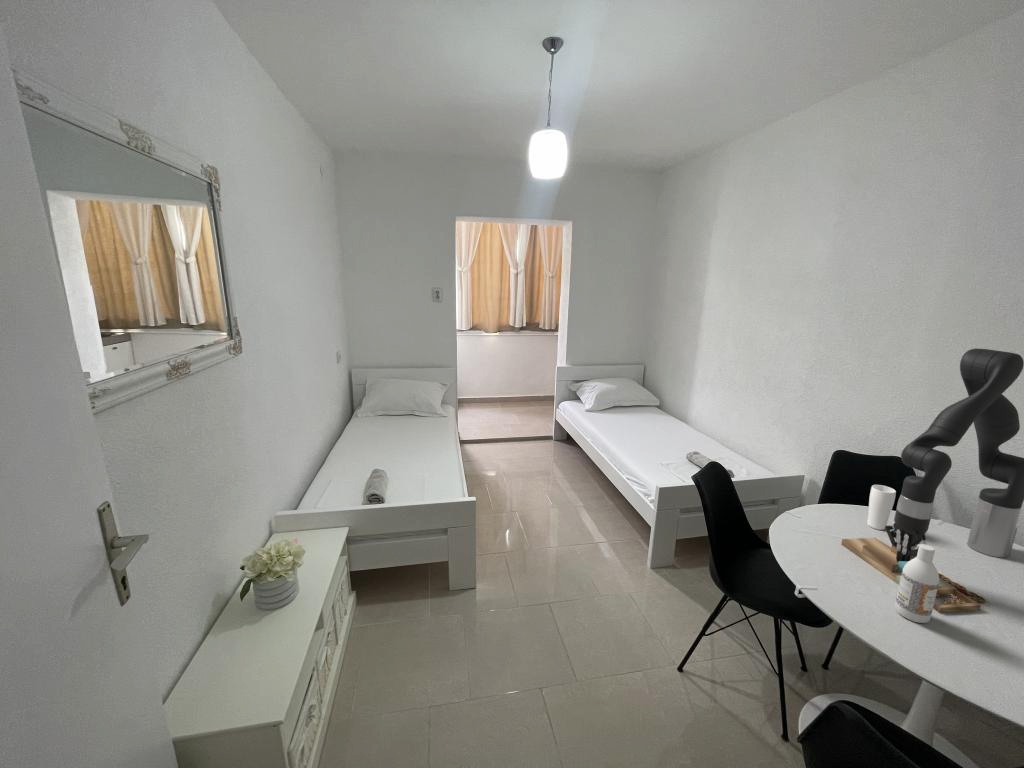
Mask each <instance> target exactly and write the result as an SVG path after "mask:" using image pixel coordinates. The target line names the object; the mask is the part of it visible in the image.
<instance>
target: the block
mask: <svg viewBox="0 0 1024 768" xmlns="http://www.w3.org/2000/svg"><path fill="white" fill-rule="evenodd" d="M907 562H909V561H898V564H899V567H898V572H900V573H901V574H902V570H903V568H904V566H905V564H906V563H907Z"/></svg>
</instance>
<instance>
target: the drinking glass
mask: <svg viewBox="0 0 1024 768" xmlns="http://www.w3.org/2000/svg"><path fill="white" fill-rule="evenodd" d="M896 493H897V491H896V490H895V489H894V488H892V487H889V486H887V485H882V484H873V485H871V487H870V493H869V498H868V499H869V500H868V512H867V521H866V524H867V525H868V527H870V528H872V529H874V530H879V531H883V530H886V529H885V526H888V521H889V519H890V517H891V516H890V515H891V512H892V510H893V507H894V504H895V500H896V495H897V494H896Z"/></svg>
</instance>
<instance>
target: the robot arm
mask: <svg viewBox="0 0 1024 768" xmlns="http://www.w3.org/2000/svg"><path fill="white" fill-rule="evenodd" d="M1023 368H1024V359H1023V357H1022V355H1020V354H1018V353H1016V352H1011V351H1002V350H996V349H988V348H987V349H986V348H970V349H969V350H967V351H965V353H963V354H962V356H961V360H960V361H959V371H960V377H961V379H962V381H963V384H964V386H965V389H966V393H967V395H968V396H967V397H965V398H962V399H961V400H958V401H956V402H954V403H952V404H951V405H948V406H947V407H945V408H944V409H943V410H941V411H940V412H939V413H938V414H937V416H936V417H935V418H934V420H933V421H932V423H931V424H930V425H929V427H928V428H927V429H926V430H925V431H924V432H923V433H921V434H920V435H919V436H918V437H916V438H915V439H914V440H912V441H911V442H910V443H908V444H907V445H905V447H904V448H903V450H902V451H901V454H900V456H901V457H900V459H901V462H902V464H904V465H905V466H907V467H909V468H912V469H914V470H917V471H920V472H923V473H924V475H923V476H918V475H908V476H906V477H904V480H903V482H902V483H903V484H902V487H901V488H902V489H901V492H900V495H899V498H898V501H897V505H896V509H895V514H894V518H893V521H894V522H893V525H887V526H885V529H884V530H885V531H886V534H887V536H888V539H889V541H890V544H891V546H892V545H893V546H895V547H896V549H897V556H896V560H897V562H898V561H910V558H911V556H917V553H918V549H919V545H920V544H925V545H928V544H927V542H926V540H927V539H926V538H927V537H926V534H927V532H928V530H929V527H930V523H931V519H932V515H933V511H934V500H935V496H936V493H937V489H938V488H939V486H940V485H941V483H942V481H943V480H944V478H946V476H947V474H948V473H949V472H950V471H951V468H952V465H953V464H952V463H953V462H952V458H951V456H950V455H949V454H948V453H945V452H943V451H940V450H937V449H934V448H936V447H948V448H949V447H952V448H953V447H956V445H958V444H959V442H960V441H961V440H962V438H963V437H964V436H965V434H966V433H967V432H968V430H969V429H970V428H971V426H972V425H974V428H975V434H976V438H977V439H976V440H977V444H978V445H977V446H978V469H979V472H980V474H981V475H982V476H983V477H985V478H986V479H989V480H993V481H996V482H999V483H1000V482H1001V483H1003V484H1006V485H1007V487H1006V488H993V487H988V488H987V487H986V488H982V489H981V490H980V492H979V495H978V498H977V499H978V500H977V502H976V503H977V504H976V507H975V510H974V514H973V518H972V523H971V526H970V530H969V535H968V537H967V538H968V539H967V543H966V545H967V546H968V547H969V548H971V549H973V550H974V551H977V552H979V553H980V554H984V555H987V556H990V557H991V556H992V557H995V558H1007V557H1009V555H1011V553H1012V549H1013V546H1014V541H1015V538H1016V534H1017V531H1018V527H1017V524H1018V521H1019V518H1020V513H1021V509H1022V507H1023V503H1024V457H1022V456H1018V455H1014V454H1008V453H1006V452H1002V451H1001V450H1000V449H999V447H1000V446H1001V445H1003V444H1005V443H1006V442H1008V441H1010V440H1011V439H1012V438H1014V437H1016V435H1017V434H1018V433H1019V431H1020V428H1021V427H1020V417H1019V412H1018V409H1017V408H1016V406H1015V405H1014V404H1013V402H1011V401H1010V400H1009V399H1008V398H1007V397H1006V396H1005V395H1003V393H1005V391H1007V389H1009V387H1011V385H1013V383H1015V381H1016V380H1017V379H1018V377H1020V375H1021V373H1022V372H1023Z"/></svg>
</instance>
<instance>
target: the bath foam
mask: <svg viewBox="0 0 1024 768" xmlns="http://www.w3.org/2000/svg"><path fill="white" fill-rule="evenodd" d="M918 546H919V549H918V553H917V557H916V558H914V559H912V560H910V561H909V562H907V563H906V564H905V566H904V568H903V570H902V575H901V579H900V584H898V590H897V593H896V594H897V595H896V599H895V602H894V610H895V611H896V612H897V613H898V614H899V615H900V616H902V617H904V618H905V619H906V620H909V621H911V622H914V623H918V624H927V623H929V622H930V619H931V616H932V615H933V610H934V609H933V606H934V602H935V597H936V593H937V589H938V585H939V578H940V576H939V572H938V570H937V567H936V566H935V564H934V563H933V561H934V555H935V552H936V548H934V547H933V546H931V545H928V544H927V545H925V544H918Z"/></svg>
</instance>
